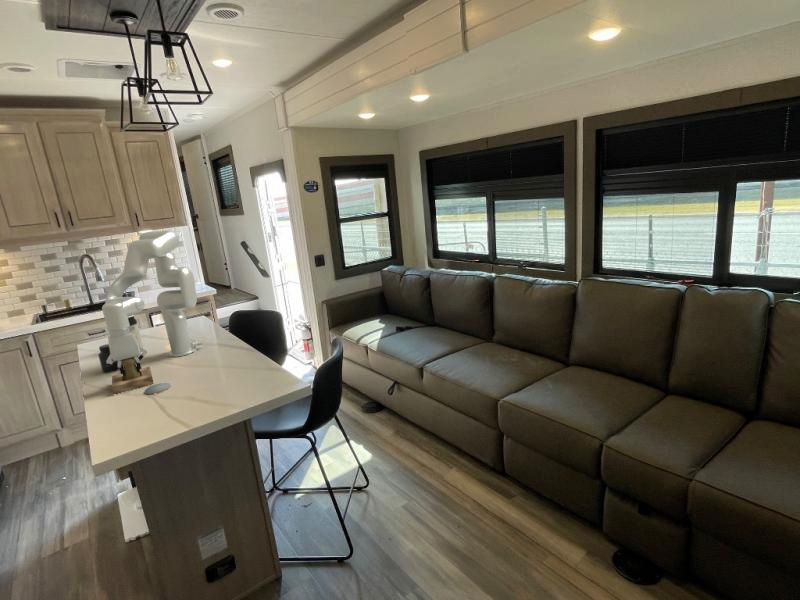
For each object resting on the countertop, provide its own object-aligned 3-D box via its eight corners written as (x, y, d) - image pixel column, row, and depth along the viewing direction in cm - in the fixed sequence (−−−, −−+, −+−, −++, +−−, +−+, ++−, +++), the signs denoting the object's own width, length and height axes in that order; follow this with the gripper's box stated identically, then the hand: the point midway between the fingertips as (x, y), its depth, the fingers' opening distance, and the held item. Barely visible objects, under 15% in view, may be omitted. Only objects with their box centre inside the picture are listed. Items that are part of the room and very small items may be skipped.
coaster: (169, 382, 177) (168, 380, 177) (171, 389, 169) (171, 388, 169) (144, 388, 172) (144, 387, 172) (145, 396, 165) (145, 395, 165)
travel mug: (146, 346, 225) (137, 314, 221) (130, 352, 219) (121, 318, 214) (138, 344, 230) (130, 313, 225) (122, 350, 223) (113, 317, 219)
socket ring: (151, 373, 187) (149, 366, 187) (153, 384, 176) (151, 376, 175) (114, 383, 180) (112, 376, 179) (114, 395, 169) (111, 387, 168)
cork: (125, 386, 174) (118, 361, 171) (126, 381, 180) (119, 357, 177) (142, 382, 177) (135, 358, 174) (142, 377, 182) (136, 353, 179)
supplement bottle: (111, 373, 192) (104, 348, 189) (99, 373, 194) (92, 348, 191) (123, 367, 199) (117, 343, 196) (111, 367, 200) (105, 343, 197)
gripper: (143, 324, 180) (154, 364, 185) (95, 335, 171) (107, 376, 176) (144, 328, 174) (155, 369, 178) (94, 339, 165) (107, 382, 170)
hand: (131, 372), depth 177 cm, fingers closed on cork, 4 cm apart
